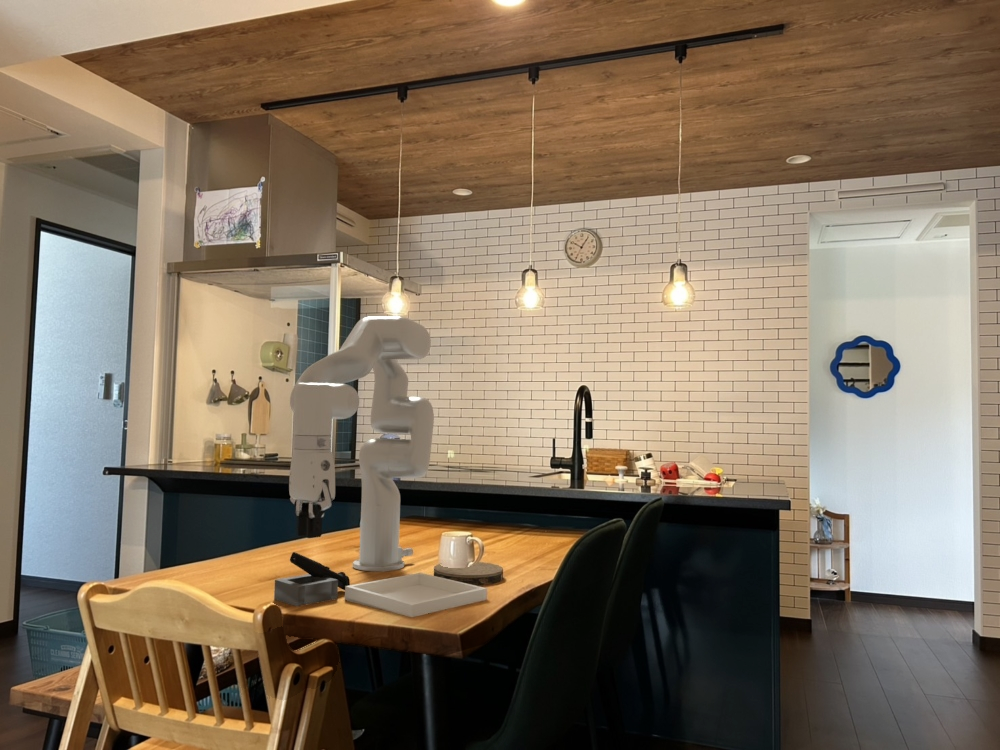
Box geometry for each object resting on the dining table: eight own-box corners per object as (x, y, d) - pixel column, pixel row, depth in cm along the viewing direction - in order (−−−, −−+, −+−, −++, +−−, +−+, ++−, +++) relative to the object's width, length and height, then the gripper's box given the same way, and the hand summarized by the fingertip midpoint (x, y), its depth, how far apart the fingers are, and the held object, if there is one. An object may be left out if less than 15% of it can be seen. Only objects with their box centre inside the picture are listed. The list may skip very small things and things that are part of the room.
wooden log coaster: (465, 571, 186) (465, 558, 187) (516, 581, 176) (517, 568, 177) (418, 581, 174) (419, 567, 174) (471, 592, 164) (471, 578, 164)
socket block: (313, 592, 159) (314, 573, 159) (337, 600, 153) (338, 579, 153) (274, 600, 152) (275, 579, 152) (297, 607, 146) (298, 586, 147)
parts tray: (419, 586, 167) (420, 572, 167) (486, 603, 154) (487, 588, 154) (344, 601, 152) (345, 586, 152) (411, 621, 139) (412, 604, 139)
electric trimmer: (281, 563, 152) (289, 548, 153) (339, 587, 162) (345, 573, 163) (291, 568, 149) (299, 553, 150) (349, 592, 159) (355, 577, 160)
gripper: (351, 446, 152) (348, 539, 151) (305, 442, 162) (302, 529, 162) (319, 446, 146) (316, 544, 145) (273, 442, 157) (270, 533, 156)
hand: (309, 535), depth 154 cm, fingers closed
